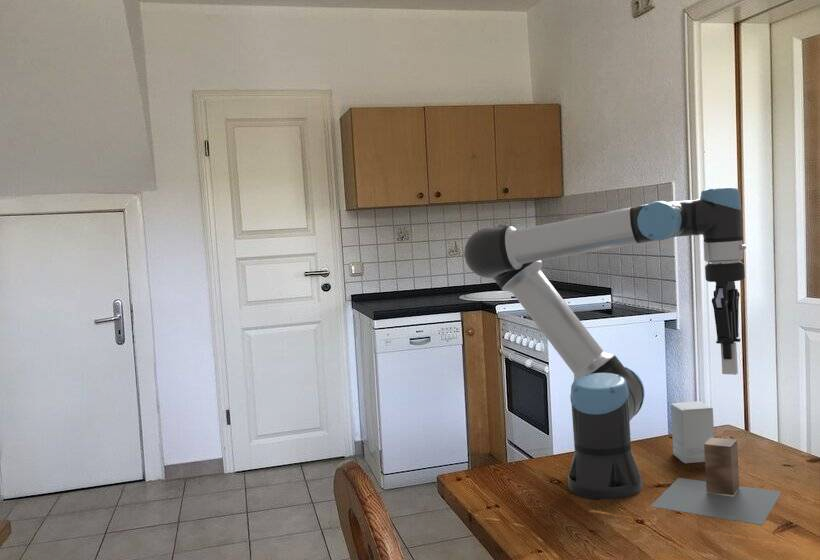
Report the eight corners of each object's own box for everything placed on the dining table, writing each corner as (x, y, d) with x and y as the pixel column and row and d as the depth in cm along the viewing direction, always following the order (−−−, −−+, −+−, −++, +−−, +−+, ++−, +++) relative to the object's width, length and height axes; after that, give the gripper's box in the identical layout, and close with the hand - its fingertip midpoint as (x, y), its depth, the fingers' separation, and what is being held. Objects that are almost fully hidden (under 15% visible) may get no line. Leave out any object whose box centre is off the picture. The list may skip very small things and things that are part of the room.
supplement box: (716, 462, 163) (713, 407, 162) (683, 465, 163) (680, 410, 162) (703, 453, 170) (701, 400, 169) (672, 455, 170) (669, 402, 170)
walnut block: (706, 492, 144) (704, 444, 144) (713, 485, 148) (710, 437, 148) (733, 496, 141) (730, 446, 141) (739, 488, 145) (736, 440, 145)
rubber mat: (650, 508, 140) (650, 506, 140) (678, 479, 154) (678, 477, 154) (762, 527, 128) (762, 524, 128) (782, 493, 142) (781, 491, 142)
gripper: (735, 263, 143) (741, 380, 144) (750, 259, 153) (756, 368, 154) (696, 265, 147) (702, 378, 148) (713, 260, 158) (719, 366, 159)
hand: (730, 373), depth 151 cm, fingers closed
